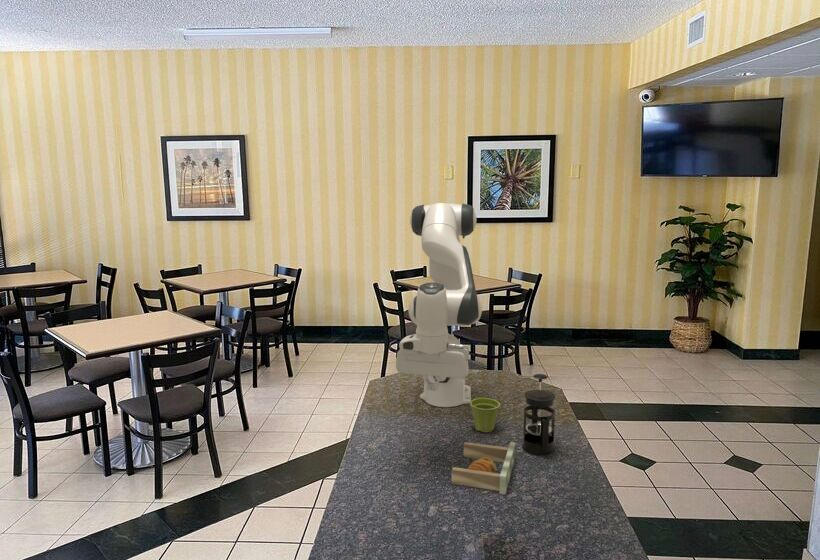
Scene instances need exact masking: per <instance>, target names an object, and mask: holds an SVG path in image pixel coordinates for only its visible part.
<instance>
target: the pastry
mask: <svg viewBox="0 0 820 560" xmlns="http://www.w3.org/2000/svg"><path fill="white" fill-rule="evenodd" d="M494 462H495V461H492V460H491V459H490V458H488V457H481V458H480V459H475V460H474V461H472V462H471V464H469V466H468V467H467V469H469V470H477V471H484V472H491V473H497V471H498V468H497V467H496V464H495V463H494Z"/></svg>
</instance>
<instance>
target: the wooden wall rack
mask: <svg viewBox="0 0 820 560" xmlns="http://www.w3.org/2000/svg"><path fill="white" fill-rule="evenodd" d="M466 457H468V459H473V460H478V459H480V458H481V457H488V458H490V459H491V460H492V461H493V462H497V463H503V464H502V469H501V471H500V473H498V472H496V473H491V472H484V471H477V470H469V469H468V468H461V467H454V466H453V467H452V468H451V484H452V485H458V486H463V485H464V487H470V488H479V489H484V490H485V489H486V490H491V491H498V492H499V494H500V495H506V494H507V490H508V487H509V484H510V478H511V476H512V473H513V468H514V465H515V461H516V442H512V441H511V442H509V445H508V446H507V447H506V446H498V445H490V444H482V443H476V442H475V443H474V442H465V441H464V443H463V458H466Z"/></svg>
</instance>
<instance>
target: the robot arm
mask: <svg viewBox="0 0 820 560" xmlns="http://www.w3.org/2000/svg"><path fill="white" fill-rule="evenodd" d="M409 224H410V228H411V231H412V233H414V234H415V235H416V236H420V237H421V248H422V251H423V253H424V254H425V255H426V256H427V257H428V262H429V264H428V266H429V269H428V273H429V278H430V279H431V282H425V283H422V284H420V285H419V286H418V289H417V294H416V296H414V297H413V298H412V299H411V301H410V302H409V305H408V316H409V319H410V320H411V321H412V323H414V325H416V329H415V333H414V334H410V335H406V336H405V337H404V338H402V339H401V340H400V342H399V344H398V345H399V346H398V347H399V349H398V351H397V354H396V361H395V369H396V371H397V372H398V373H400V374H407V375H410V374H411V375H421V376H422V380H423V383H424V384H423V385H424V386H423V392H422V393H421V394H419V398H420V399H422V400H424V401H425V402H426V404H428V405H431V406H432V407H433V406H434V407H438V408H439V407H440V408H452V407H453V408H454V407H458V406H461V405H468V404H470V402H471V401H472V394H471V393H472V390H471V389H472V388H471V385H467V384H466V377H467V376H468V375H469V371H470V370H469V358H470V350H469V348H468V347H467V346H465V345H464V344H461V342H460V340H459V339H458V338H457V337H456V336H455V335H453V334H450V333H449V329H448V326H452V327H453V326H454V327H455V326H456V327H457V326H459V327H460V326H461V327H463V326H470V325H473V324H477V323H478V321H479V320H480V319H481V316H482V314H483V313H482V312H483V307H482V303H481V302H480V300H479V299H480V298H479V297H478V293H477V290H476V286H475V285H476V284H475V280H474V274H473V269H472V263H471V259H470V254H469V252H468V248H467V247H466V246H464V244H461V240H460V236H462V240H463V239H465V238H466V237H467V236H469V235H471V234H472V233H473V232H474V231H475V229H476V228H475V227H476V225H477V215H476V211H475V209H474V207H473V206H472V205H471V204H467V203H462V204H460V203H445V202H437V203H433V204H427V205H426V204H420V205H417V206H415V207H414V208H413V209H412V210H411V213H410V217H409Z"/></svg>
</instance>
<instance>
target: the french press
mask: <svg viewBox="0 0 820 560" xmlns="http://www.w3.org/2000/svg"><path fill="white" fill-rule="evenodd" d="M532 377H533V378H534V379H537V380H538V382H539V389H531V390H527V391H526V392H524V395H523V396H524V398H525V403H526V404H527V405H528V406H525V407H524V409H523V434H522V437H523V438H522V445H521V446H522V450H523V451H524V452H525V453H527V454H529V455H532V456H538V457H539V456H541V457H542V456H544V457H545V456H549V455H551V454H553V453H554V451H555V446H554V445H555V422H556V421H555V420H556V419H555V417H556V411H555V409H554V408H552V406H554V403H555V399H556V395H555V393H554V392H552V391H549V390H544V389H542V387H541V386H542V382H543V380H546V379H548V378H549V376H548V375H547V374H544V373H535V374H533V376H532ZM541 410H542V411H546V412H548V413H549V412H550V413H551V414H550V415H547V416H546V415H545V416H541ZM528 411H531V414H530V413H527V412H528ZM527 419H528V420H531V422H530V423H527ZM550 421H551V425H550ZM536 443H537V444H536ZM538 443H539V444H538Z"/></svg>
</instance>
